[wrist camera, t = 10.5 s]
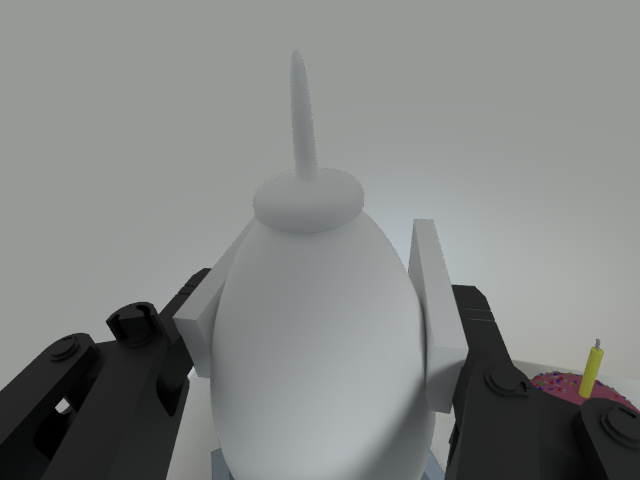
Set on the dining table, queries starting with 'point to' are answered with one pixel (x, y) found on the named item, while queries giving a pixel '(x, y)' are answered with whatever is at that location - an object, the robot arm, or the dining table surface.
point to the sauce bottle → (318, 334)
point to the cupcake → (580, 383)
